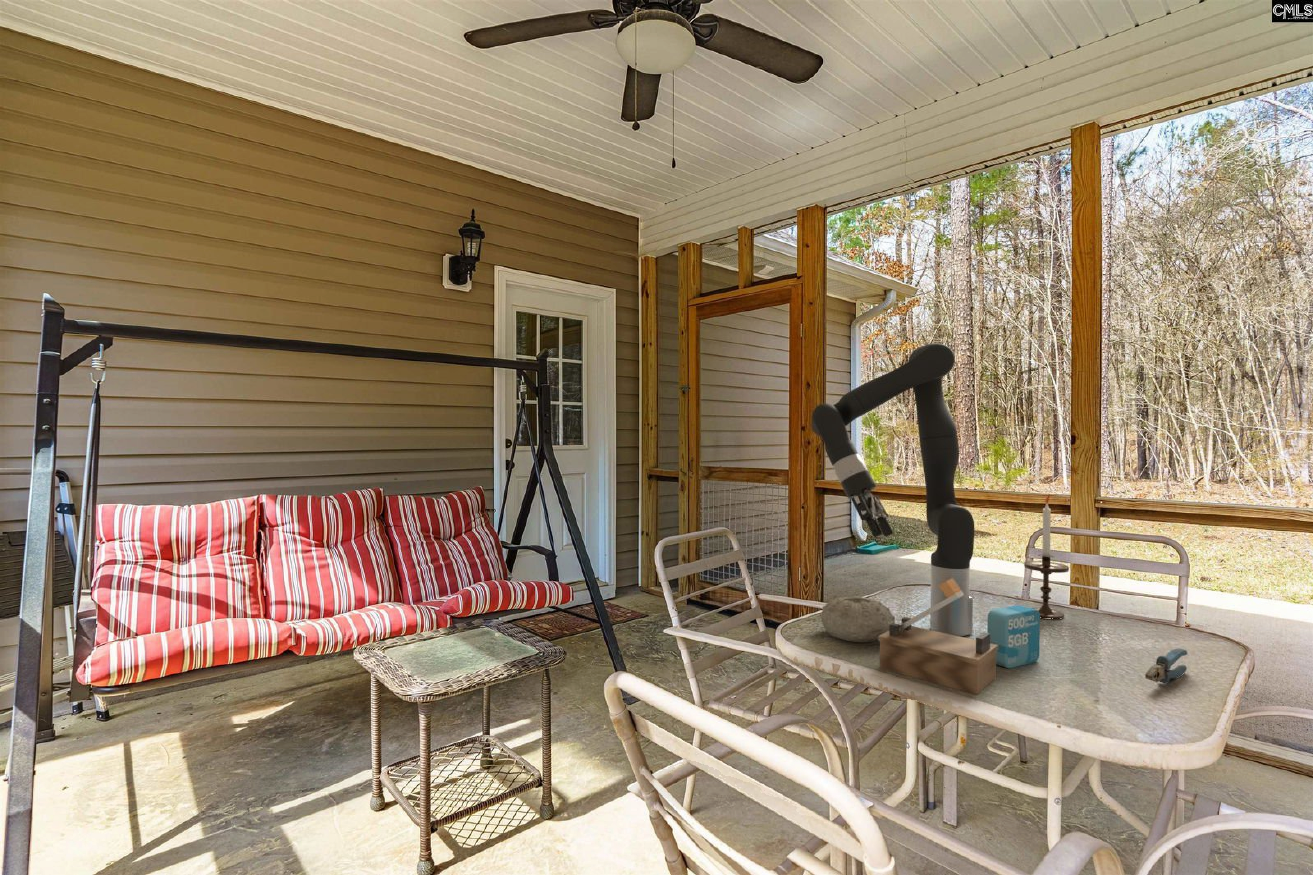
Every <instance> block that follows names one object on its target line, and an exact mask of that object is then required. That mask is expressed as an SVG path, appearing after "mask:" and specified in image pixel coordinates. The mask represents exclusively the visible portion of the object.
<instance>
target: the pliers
mask: <svg viewBox="0 0 1313 875" xmlns="http://www.w3.org/2000/svg"><path fill="white" fill-rule="evenodd" d="M1187 655H1188V651H1187V649H1184V648H1174V649H1172V650H1170V651H1169V652H1167V653H1166V655H1165V656H1164V655H1159V656H1158V657H1157V658H1156V661H1155V664H1153V665H1151V667H1150V668H1149V669H1148V670H1147V672H1146V673H1145V674H1144V678H1145V679H1147V680H1150V681H1152V682H1156V683H1161V682H1162V683H1161V684H1168V683H1169V682H1170V680H1171V679H1177V677H1178V678H1180V677H1182V676H1183V675H1184V674H1185V673H1186V672H1187V669H1188V667H1187V666H1186V665H1185V664H1183V665H1182V664H1180V665H1177V666H1176V667H1174V668H1173V669H1171V668H1172V666H1173V665H1174V664H1175V663H1177V661H1178V660H1180V659H1181V657H1185V656H1187ZM1183 673H1184V674H1183ZM1182 674H1183V675H1182ZM1181 675H1182V676H1181ZM1179 676H1180V677H1179Z"/></svg>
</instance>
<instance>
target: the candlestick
mask: <svg viewBox="0 0 1313 875" xmlns="http://www.w3.org/2000/svg"><path fill="white" fill-rule="evenodd" d="M1050 498H1051V494H1050V493H1048V495H1047V497H1046V498H1045V506H1044V508H1042V554H1038V556H1039V557H1041V560H1040V561H1039V560H1027V561H1025V562H1024V563H1023V567H1024V568H1026V569H1028V570H1031V571H1036V572H1040V574H1043V577H1042V579H1043V580H1042V585H1041V586H1040V592H1042V595H1041V596H1040V599H1042V605H1041V606H1040V607H1031V608H1032V609H1036V610H1038V612H1039V614H1040V617H1041V618H1040V619H1042V618H1051V619H1052V618H1053V619H1060V618H1064V619H1065V613H1064V612H1062V611H1059V610H1056V609H1052V608H1051V607H1050V606H1049V601H1050V600H1052V598H1051V596H1050V593H1051V592H1052V591H1053V590H1052V588H1051V587H1050V586H1049V584H1050V583H1049V582H1050V579H1049V578H1050V575H1051V574H1053V573H1055V574H1056V573H1057V574H1059V573H1060V574H1061V573H1068V572H1070V570H1069V569H1070V567H1069V565H1066V564H1062V563H1058V562H1054V561H1053V562H1052V561H1051V558H1055V556H1054V555H1051V523H1052V522H1051V520H1052V519H1051V518H1052V515H1051V511H1052V510H1051V508H1050V507H1049V501H1050Z"/></svg>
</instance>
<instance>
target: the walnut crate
mask: <svg viewBox="0 0 1313 875" xmlns="http://www.w3.org/2000/svg"><path fill="white" fill-rule="evenodd" d="M910 619H911V617H910V618H909V617H906V616H903V617H902V618H901V623H904V622H906V621H908V620H910ZM901 623H900V624H901ZM900 624H899V623H896V622H895V623H891V624H890V625H889V631H887V632H885V633H883V634H881V635H879V636H878V640H877V641H878V642H879V668H880V669H882V670H887V671H890V672H894V673H897V674H902V675H904V676H909V677H912V678H917V679H920V680H923V681H926V682H931V683H933V684H937V685H940V686H945V687H949V688H952V689H955V690H960V691H962V692H963V691H964V692H967V693H971V694H973V695H974V694H975V695H979V693H981V692H982V691H983V690H984V689H985V688H987V686H988V685H990V684H991V683H992V682H993V681H994V680H995V679H996V678H997V664H996V651H997V650H998V645H996V644H991V643H990V633H987V632H985V631H983V632H982V633H980V634H979V635H977V636H976V637H975V639H972V638H968V637H964V636H955V635H950V634H946V633H941V632H937V631H932V630H931V629H927V628H923V627H917V626H913V625H912V624H911V625H910V626H908V627H907V628H906V629H904V630H902V631H901V632H900Z"/></svg>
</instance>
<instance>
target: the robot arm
mask: <svg viewBox="0 0 1313 875" xmlns="http://www.w3.org/2000/svg"><path fill="white" fill-rule="evenodd" d="M955 360H956V359H955V354H954V352H953V350H952V348H950V347H949V346H948V345H946V344H943V343H940V342H936V343H934V342H933V343H928V344H924V345H922V346H919V347H917V348H916V349H914V350H913V351H912V352H910V355H909V357H908V360H907V362H906V363H903V365H901V366H899V367H897V368H895V369H892V370H891V371H890V372H887V373H884V374H882V375H880V376H877V377H875V378H873V379H871V380H869V381H867V382H864V383H863V384H861V385H859V386H857V387H855V388H854V389H851V390H850V391H848V392H847V393H845V394H844V395H842V396H841V397H840V399H839V400H838V401H837V402H836V403H835V404H834V403H833V404H832V403H824V402H823V403H820V404H818V405H817V406H815V407H814V409H813V411H812V413H811V420H810V427H811V430H812V431H813V433H814V434H815V435H817V436H819V437H821V439H822V441H823V443H824V450H825V453H826V455H827V458H828V460H829V461H830V463H831V466H832V467H833V471H834V474H835V475H836V478H837V479H838V482H839V484H840V485H841V487H842V490H843V492H844V493H845V495H846V497H847V498H848V499H849V500H851V502H852V504H853V506H854V508H855V509H856V512H857V514H858V516H859V518H860V520H861V521H862V522H864V523H865V524H867V527H868V528H869V530H870V532H871V533H872V536H873V537H874V538H877V537H880V536H882V535H883V536H884V537H889V536H892V535H893V534H894V530H893V529H892V527H891V525H890V523H889V521H888V517H889V514H888V513H887V511H886V509H885V507H884V505H883V504H882V502H881V500H880V498H879V496H878V495H875V496H874V495H873V494H872V491H873V490H875V488H876V487H877V485H876V483H875V480H874V479H873V477H872V475H871V473H870V471H869V469H868V467H867V465H866V463H865V462H864V460H863V458H862V457H861V456H860V454H859V453H858V450H857V448H856V447H855V445H854V443H853V441H852V440H851V437H850V436H849V432H848V430H847V426H849V425H850V424H851V423H852V422H854V421H855V420H856V419H858V418H860V417H862V416H864V415H866V414H867V413H869V412H871V411H873V410H875V409H876V408H878V407H879V406H881V405H884V404H886V403H887V402H888V401H890V400H891V399H893V398H895V397H897V396H899V395H900V394H902V393H904V392H906V391H908V390H910V389H913V390H912V391H913V394H914V401H915V408H916V418H917V427H918V438H919V445H920V446H919V447H920V453H921V458H922V460H921V461H922V468H923V469H922V470H923V476H924V483H925V492H926V494H925V497H926V498H925V499H926V502H925V503H926V506H925V508H926V511H925V512H926V514H925V516H926V523H927V526H928V529H929V530H930V531H931V532H932V533H933V534H934V535H935V536H937V544H936V546H937V547H936V550H935V551H934V552H933V551H932V553H931V555H930V603H929V604H930V606H929V608H931V607H933V606H935V605H936V604H938V603H940V602H942V601H943V600H945V599H947V597H946V595H945V594H944V593H943V591H942V590H941V588H940V587H939V585H940V584H942V583H944V582H945V581H947V580H950V579H952V578H953V579H954V580H955V582H956V583H957V585H958V586H959V587H960V589H961V590H962V592H963V593H964V595H963V596H962V597H960V598H958V599H956V600H954V601H953V602H951V603H949V604H947V605H945V606H944V607H942V608H940V609H938V610H937V611H935V612H933V613H931V614H929V617H930V618H929V624H930V625H929V627H930V628H929V630H932V631H937V632H941V633H946V634H950V635H955V636H960V637H964V636H965V637H966V636H968V635H973V624H974V623H973V622H974V621H973V618H974V617H973V615H974V614H973V613H974V612H973V610H974V608H973V607H974V606H973V605H974V604H973V603H974V602H973V601H974V598H973V597H972V596H971V595H970V582H971V581H970V576H971V574H970V573H971V572H970V568H971V567H970V566H971V564H970V563H971V560H972V558H973V555H974V545H975V544H974V543H975V521H974V518H973V515H972V513H971V512H970V511H969V510H968V509H967V508H965V507H963V506H960V505H958V503H957V499H956V494H955V484H954V483H955V475H956V471H957V467H958V463H959V458H960V446H959V436H958V430H957V425H956V423H955V420H954V418H953V416H952V414H951V412H950V409H949V408H948V405H947V403H946V400H945V397H944V392H943V384H942V380H943V379H942V378H943V377H945V376H946V375H948V373H950V372H951V371H952V369H953V367H954V364H955Z"/></svg>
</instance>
